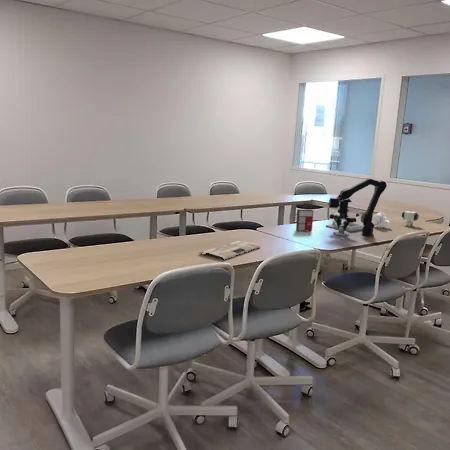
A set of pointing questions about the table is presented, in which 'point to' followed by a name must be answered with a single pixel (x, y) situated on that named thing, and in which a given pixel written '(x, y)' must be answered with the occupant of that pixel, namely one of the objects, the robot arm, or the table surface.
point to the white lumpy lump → (380, 220)
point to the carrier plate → (350, 227)
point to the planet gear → (341, 231)
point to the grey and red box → (304, 220)
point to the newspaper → (232, 249)
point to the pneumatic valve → (410, 217)
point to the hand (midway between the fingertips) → (341, 230)
